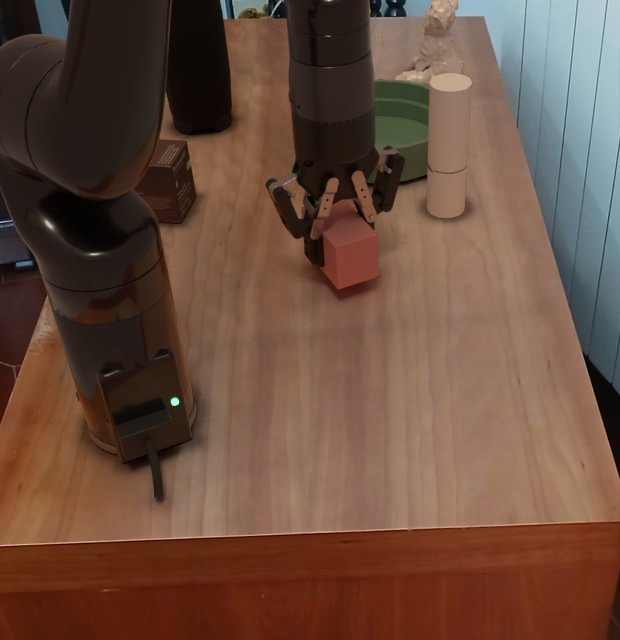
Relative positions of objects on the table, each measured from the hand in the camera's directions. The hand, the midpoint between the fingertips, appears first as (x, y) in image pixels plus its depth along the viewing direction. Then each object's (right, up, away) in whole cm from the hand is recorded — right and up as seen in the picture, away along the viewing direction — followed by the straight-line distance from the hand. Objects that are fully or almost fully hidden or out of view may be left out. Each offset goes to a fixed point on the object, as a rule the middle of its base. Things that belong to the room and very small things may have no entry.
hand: (340, 255), depth 93 cm
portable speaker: (-18, +20, +29) cm, 40 cm away
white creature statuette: (+13, +28, +35) cm, 47 cm away
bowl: (+5, +15, +22) cm, 27 cm away
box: (-20, +7, +13) cm, 25 cm away
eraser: (0, -1, +1) cm, 1 cm away
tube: (+12, +6, +11) cm, 17 cm away
